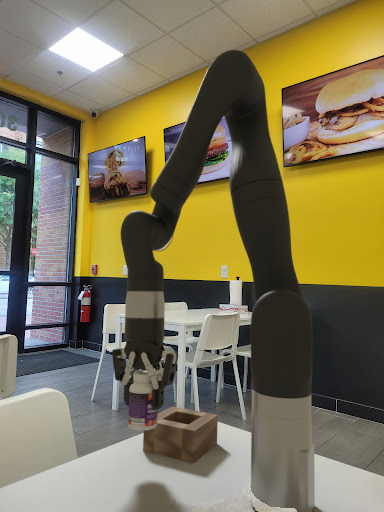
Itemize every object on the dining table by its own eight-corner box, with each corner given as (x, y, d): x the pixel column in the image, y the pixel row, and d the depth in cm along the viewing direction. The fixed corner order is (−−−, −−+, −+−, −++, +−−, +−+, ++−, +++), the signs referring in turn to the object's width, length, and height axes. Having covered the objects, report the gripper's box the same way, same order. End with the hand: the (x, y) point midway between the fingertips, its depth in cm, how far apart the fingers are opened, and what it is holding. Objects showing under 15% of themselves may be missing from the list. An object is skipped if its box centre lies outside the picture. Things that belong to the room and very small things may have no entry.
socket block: (217, 443, 81) (217, 414, 82) (193, 463, 71) (194, 430, 72) (171, 433, 87) (172, 406, 87) (142, 450, 76) (144, 420, 77)
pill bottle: (152, 432, 66) (153, 376, 67) (123, 430, 67) (125, 374, 68) (160, 422, 71) (161, 370, 72) (134, 420, 72) (135, 369, 73)
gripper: (187, 315, 72) (186, 407, 70) (126, 314, 78) (124, 397, 76) (166, 317, 65) (165, 418, 63) (102, 315, 71) (99, 406, 69)
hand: (143, 406), depth 70 cm, fingers closed on pill bottle, 5 cm apart
